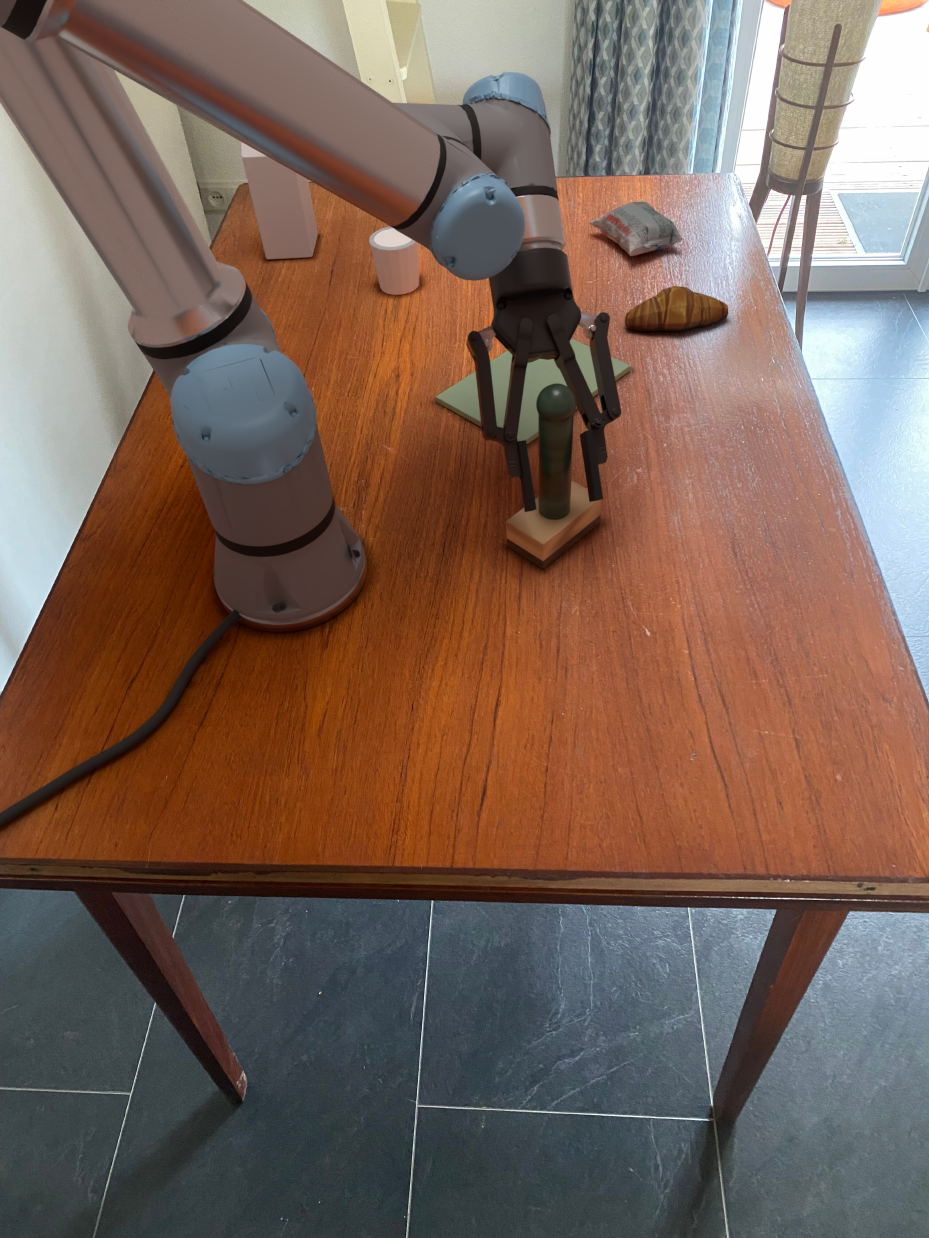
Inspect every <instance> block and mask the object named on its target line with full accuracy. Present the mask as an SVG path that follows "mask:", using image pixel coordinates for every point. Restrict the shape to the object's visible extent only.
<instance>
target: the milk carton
mask: <svg viewBox="0 0 929 1238" xmlns="http://www.w3.org/2000/svg"><path fill="white" fill-rule="evenodd" d="M240 144H241V145H240V146H241V149H240V151H241V160H242V164H243V168H244V172H245V176H246V181H247V185H248V189H249V194H250V197H251V201H252V207H253V210H254V214H255V217H256V222H257V227H258V231H259V236H260V239H261V244H262V249H263V251H264V257H265V260H283V259H302V258H303V259H304V258H313V256H314V252H315V248H316V244H317V241H318V236H319V231H318V225H317V220H316V215H315V210H314V205H313V199H312V195H311V189H310V183H309V180H308V179H306V178H304V177H303V176H301V175H299V174H297V173H296V172H294V171H292V170H290V169H289V168H287V167H285V166H283V165H281V164H280V163H278V162H276V161H274V160H273V159H271V158H269V157H267V156H266V155H264V154H262V153H260V152H258V151H257V150H255V149H253V148H251V147H250V146H248V145H246V144H244V143H243V142H241V141H240Z"/></svg>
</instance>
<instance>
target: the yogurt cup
mask: <svg viewBox="0 0 929 1238" xmlns="http://www.w3.org/2000/svg"><path fill="white" fill-rule="evenodd" d="M368 243H369V247H370V251H371V255H372V260H373V263H374V267H375V272H376V277H377V281H378V284H379V288H380V289H381V291H382V292H383V293H385V294H387V295H393V296H398V295H399V296H401V295H407V294H410V293H412V292H413V291H416V289H417V288H418V287H419V286H420V251H419V250H420V247H419V246H420V244H419V243H417V242H416V241H414V240H412V239H410V238H409V237H407V236H405V235H403V234H402V233H400V232H398V231H397V230H395V229H394V228H392V227H391V226H389V225H388V226H386V227H382V228H380V229H378V230H376V231H374V232H372V234H371V235H370V236H369V240H368Z"/></svg>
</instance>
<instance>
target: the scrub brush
mask: <svg viewBox="0 0 929 1238" xmlns="http://www.w3.org/2000/svg"><path fill="white" fill-rule="evenodd" d="M536 408H537V411H538V437H537V438H538V439H537V440H538V441H537V442H538V444H537V445H538V446H537V447H538V449H537V450H538V454H537V455H538V457H537V458H538V460H537V461H538V463H537V464H538V467H537V468H538V469H537V470H538V471H537V473H538V477H537V479H538V485H537V486H538V490H537V491H538V494H537V495H538V496H537V497H535V502H536V510H534V511H529V512H525V510H524V507H522V508H521V509H520V510H519V511H517V512H516V513H515V514H513V515H512V516H511V517H510V518H508V519H507V520H506V521H505V528H506V529H505V530H506V547H507V548H509V549H510V550H512V551H513V552H515V553H516V554H518V555H520V556H521V557H522V558H524V559H526V560H527V561H528V562H531V563H532V564H533V565H535V566H537V567H539V568H540V569H541V570H545V569H546V568H547V567H548V566H549V565H551V564H552V563H553V562H554V561H556V560H557V559H558V558H559V557H561V555H564V553H565V552H567V551H568V550H569V549H570V548H572V547H573V546H574V545H575V544H576V543H578V542H579V541H580V540H582V539H583V538H584V537H585V536H586V535H587V534H589V533H590V532H591V531H592V530H594V529H595V528H596V527H597V526H598V525H600V524H601V514H602V502H603V501H602V500H603V499H601V500H598V501H593V502H589V495H588V489H587V487H584V486H582V485H581V484H579V483H577V482H576V481H574V480H572V475H573V474H572V471H573V447H574V446H573V445H574V414H575V412H576V410H577V409H576V398H575V395H574V393H573V392H572V390H571V389H570V388H569V387H567V386H565V385H563V384H559V383H555V384H550V385H548V386H546V387H545V388H543V389H542V390H541V392H540V393H539V395H538V397H537V401H536ZM575 409H576V410H575Z"/></svg>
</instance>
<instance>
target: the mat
mask: <svg viewBox="0 0 929 1238" xmlns="http://www.w3.org/2000/svg"><path fill="white" fill-rule="evenodd" d="M570 344H571V346H572V348H573V350H574V353H575V357H576V360H577V363H578V365H579V367H580V369H581V371H582V374H583V376H584V378H585V380H586V382H587V385H588V387H589V389H590V391H591V393H592V396H593V398H594V397H595V396H597V395H599V393H598V388H597V383H596V377H595V372H594V367H593V362H592V357H591V352H590V345H587V344H585V343H582V342H581V341H578V340H576V339H574V338H573V337H572V338H571V340H570ZM611 360H612V365H613V370H614V375H615V381H618V380H619V379H620V378H621V377H623V376H625V375H626V374H628V373H629V372H630V371H631V364H628V363H626V362H624V361H622V360H619V359H617V358H615V357H613V356H611ZM511 361H512V354H511V353H510V352H509V351H508V350H507V349H506V350H505V351H504V352H503V353H501V354H500V355H498V356H496V357H494V358H493V359H492V360H490V365H491V374H492V384H493V393H494V403H495V412H496V422H497V427H502V428H503V425H504V417H505V410H506V402H507V395H508V387H509V380H510V368H511ZM555 383H559V384H563V385H565V386H567V384H566V382H565V380H564V378H563V376H562V374H561V371H560V370H559V368H558V367H557V366H556V363H555V361H554V359H551V360H545V359H538V360H536V361H534V362H530V363H528V364H527V369H526V375H525V382H524V390H523V397H522V405H521V412H520V420H519V427H518V434H517V441H523V440H526V443H527V445H529V444H530V443H532V442H533V441H534V440H535V439H537V438H538V411H537V408H536V401H537V397H538V395H539V393H540V392H541V390H542V389H543V388H545V387H546V386H548V385H550V384H555ZM435 402H436V403H437V404H439V405H440V406H443V407H444V408H446V409H448V410H450V411H452V412H454V413H455V414H457V415H459V416H460V417H463V418H464V419H466V420H468V421H469V422H471V423H472V424H475V425H477V426H479V427H480V428H481V418H480V409H479V399H478V390H477V380H476V371H475V370H474V371H473V372H472V373H470V374H468V375H467V376H465V377H464V378H462V379H460V380H458V381H457V382H456V383H454V384H453V385H451V386H450V387H449V388H447V389H445V390H443V391H442V392H441V393H439V394H437V395H436V396H435ZM577 410H578V409H577V406H576V409H575V411H577Z"/></svg>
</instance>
